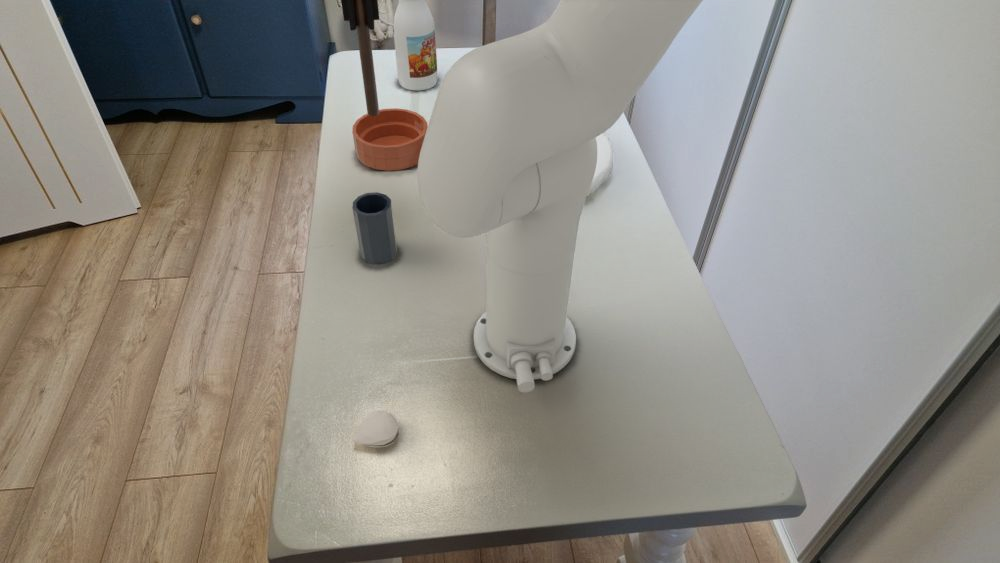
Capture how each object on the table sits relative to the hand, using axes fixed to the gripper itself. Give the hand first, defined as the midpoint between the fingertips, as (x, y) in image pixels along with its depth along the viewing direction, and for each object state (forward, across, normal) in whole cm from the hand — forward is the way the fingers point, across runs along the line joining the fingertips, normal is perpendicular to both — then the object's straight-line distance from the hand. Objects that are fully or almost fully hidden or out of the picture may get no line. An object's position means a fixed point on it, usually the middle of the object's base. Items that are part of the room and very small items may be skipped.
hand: (362, 24), depth 82 cm
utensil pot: (+27, -1, -13) cm, 30 cm away
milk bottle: (+28, +7, +38) cm, 48 cm away
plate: (+28, +24, +7) cm, 37 cm away
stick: (+13, 0, 0) cm, 13 cm away
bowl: (+28, +2, +13) cm, 31 cm away
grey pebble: (+27, -1, -43) cm, 51 cm away
